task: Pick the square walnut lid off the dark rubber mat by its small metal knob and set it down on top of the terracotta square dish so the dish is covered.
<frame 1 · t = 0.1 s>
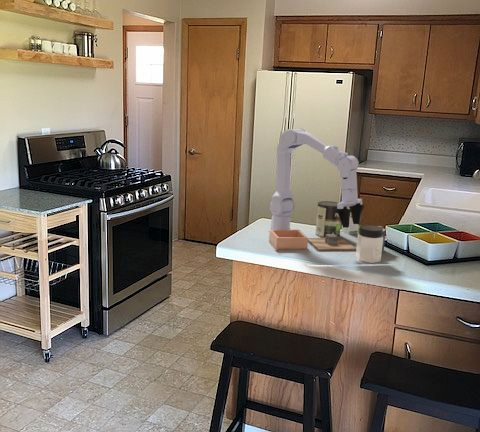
hand: (351, 225, 187), 10 cm above the table, tool pointing down, fingers open, 7 cm apart
lid: (330, 245, 197), point 1 cm above the table, touching mat
mat: (330, 246, 197), on the table
syrup box: (350, 233, 219), on the table
dish: (287, 246, 195), on the table
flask: (376, 254, 191), on the table
jar: (367, 260, 182), on the table
coffee can: (327, 236, 212), on the table
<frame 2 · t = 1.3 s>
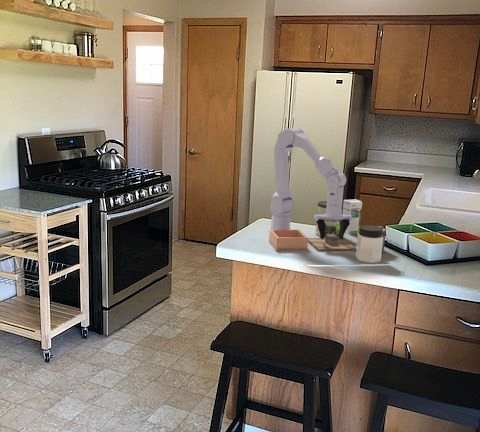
hand: (331, 238, 196), 3 cm above the table, tool pointing down, fingers open, 7 cm apart
nothing on the table moved.
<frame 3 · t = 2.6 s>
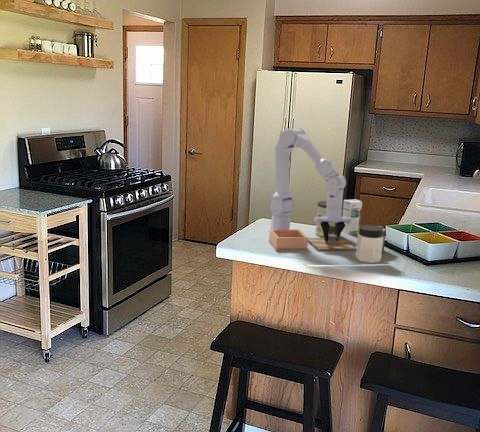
hand: (331, 240, 196), 2 cm above the table, tool pointing down, fingers closed on lid, 3 cm apart
lid: (330, 245, 197), point 1 cm above the table, touching gripper, mat
everything else where it was.
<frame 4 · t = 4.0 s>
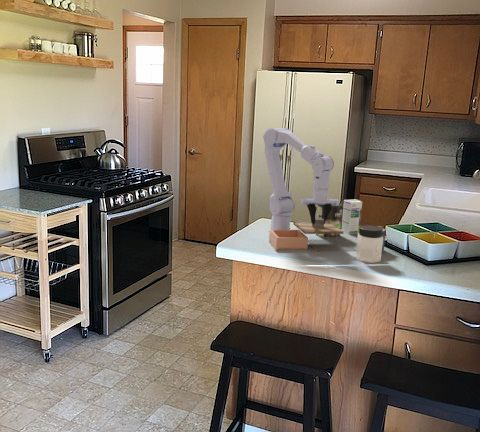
hand: (317, 223, 194), 9 cm above the table, tool pointing down, fingers closed on lid, 3 cm apart
lid: (317, 228, 194), point 7 cm above the table, touching gripper
everything else where it was.
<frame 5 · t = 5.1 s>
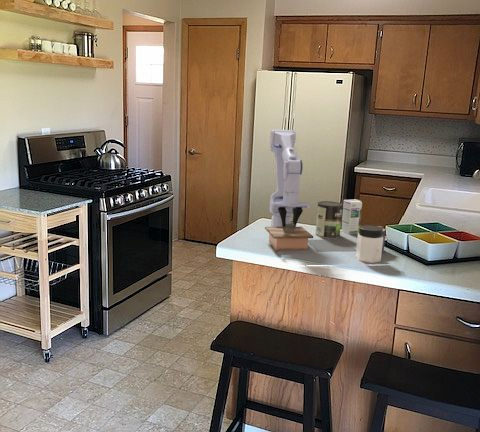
hand: (288, 226, 193), 8 cm above the table, tool pointing down, fingers closed on lid, 3 cm apart
lid: (288, 233, 194), point 5 cm above the table, touching gripper
everything else where it was.
when the fingers open (8 cm above the table, at t = 5.8 s): lid stays where it is, resting on dish.
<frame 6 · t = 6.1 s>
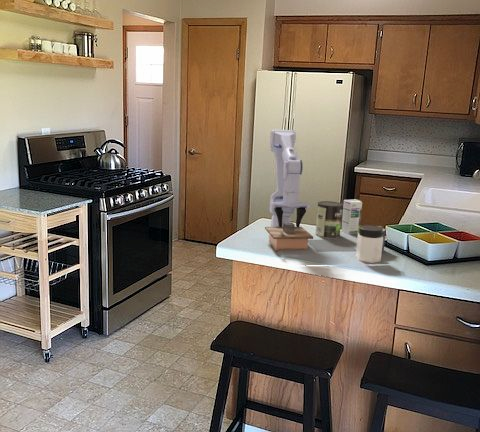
hand: (288, 226, 193), 8 cm above the table, tool pointing down, fingers open, 6 cm apart
lid: (288, 233, 194), point 5 cm above the table, touching dish
everything else where it was.
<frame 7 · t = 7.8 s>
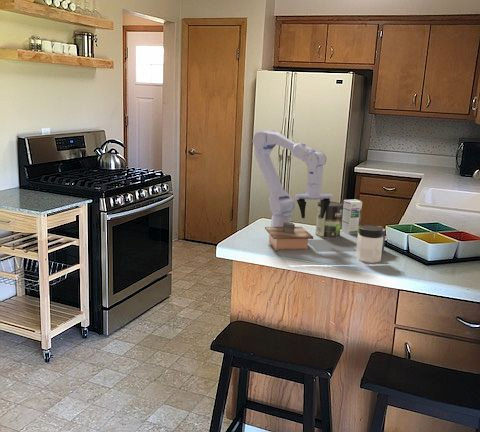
hand: (312, 217, 198), 10 cm above the table, tool pointing down, fingers open, 7 cm apart
nothing on the table moved.
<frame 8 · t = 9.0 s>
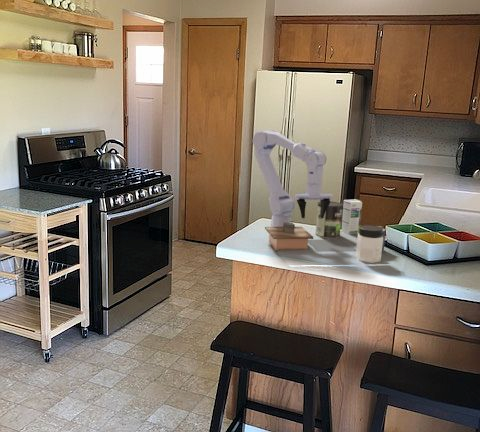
hand: (312, 217, 198), 10 cm above the table, tool pointing down, fingers open, 7 cm apart
nothing on the table moved.
at the end: lid 0.1 cm off-centre on the dish, point 5.0 cm above the dish's base; lid tilted 0°; the gripper is holding nothing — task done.
